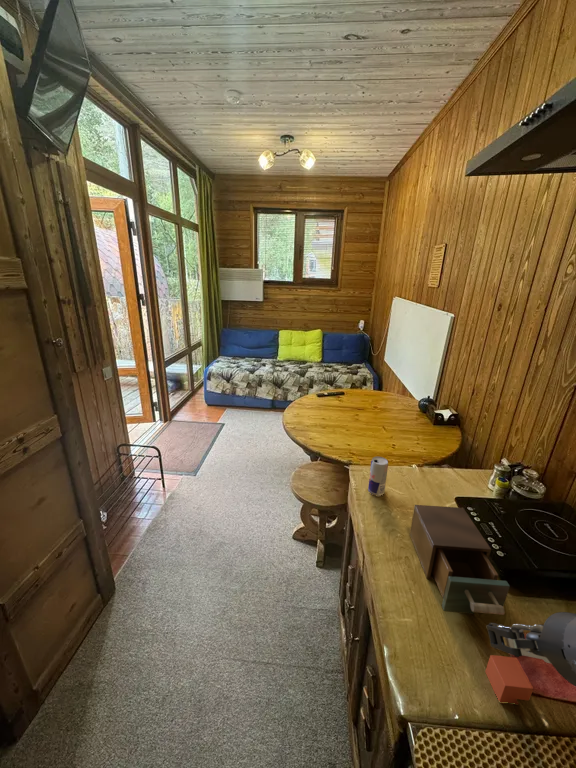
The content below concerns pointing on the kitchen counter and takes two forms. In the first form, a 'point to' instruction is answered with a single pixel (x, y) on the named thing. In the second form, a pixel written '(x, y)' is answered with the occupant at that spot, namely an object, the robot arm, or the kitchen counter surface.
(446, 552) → the drawer
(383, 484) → the energy drink
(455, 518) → the cabinet
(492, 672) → the block
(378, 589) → the kitchen counter surface
